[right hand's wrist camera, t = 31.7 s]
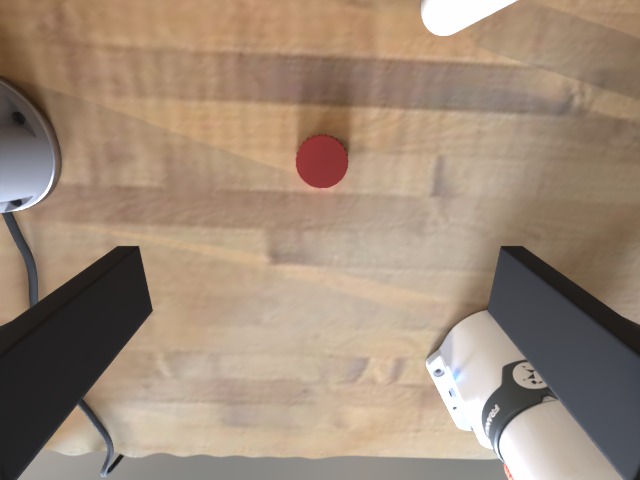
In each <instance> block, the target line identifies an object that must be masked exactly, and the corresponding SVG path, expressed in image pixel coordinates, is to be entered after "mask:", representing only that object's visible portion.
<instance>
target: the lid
mask: <svg viewBox="0 0 640 480" xmlns="http://www.w3.org/2000/svg"><path fill="white" fill-rule="evenodd" d="M345 150H346V149H345V148H344V147H343V146H342V143H340V142H339V141H338V139H335V138H333V137H332V136H328V135H326V134H325V135H320V134H319V135H316V136H314V135H313V137H310V138H308V139H307V140H306V141H305V142H303V144H302V145H301V147H299V151H298V152H297V157H296V167H297V172H298V173H299V175H300V177H301V178H302V180H303V181H304V182H306V183H307V184H308V185H310V186H312V187H315V188H329V187H332V186H334V185H335V184H337V183H338V182H339V181H340V180H341V179H342V178H343V177H344V175H345V173H346V170H347V168H348V167H347V166H348V158H347V156H348V155H347V154H346V151H345Z"/></svg>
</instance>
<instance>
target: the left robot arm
mask: <svg viewBox="0 0 640 480" xmlns="http://www.w3.org/2000/svg"><path fill="white" fill-rule="evenodd" d="M426 366H427V368H428V370H429V372H430V374H431V376H432V378H433V380H434V382H435V384H436V386H437V388H438V390H439V392H440V394H441V396H442V398H443V400H444V402H445V404H446V406H447V408H448V410H449V412H450V414H451V416H452V418H453V420H454V422H455V423H456V425H457V427H458V428H460V429H463V430H468V431H475V433H476V436H477V438H478V440H479V442H480V444H481V445H483V446H485V447H487V448H490V449H493V451H494V452H495V453H496V454H497V455H498V457H499V458H500V459H501V460H502V461H503V462H504V463H505V464H504V468H505V472H506V474H507V477H508V479H509V480H623V479H622V478H621V476H620V475H619V474H618V473H617V471H616V470H615V469H614V468H613V466H612V465H611V464H610V463H609V462H608V460H607V459H606V458H605V457H604V455H603V454H602V453H601V452H600V450H599V449H598V448H597V447H596V445H595V444H594V443H593V442H592V440H591V439H590V438H589V437H588V435H587V434H586V433H585V432H584V430H583V429H582V428H581V427H580V426H579V424H578V423H577V422H576V421H575V419H574V418H573V417H572V416H571V414H570V413H569V412H568V411H567V409H566V408H565V407H564V406H563V404H562V403H561V402H560V401H559V399H558V398H557V397H556V396H555V394H554V393H553V392H552V391H551V389H550V388H549V387H548V386H547V385H546V383H545V382H544V381H543V380H542V378H541V377H540V376H539V375H538V373H537V372H536V371H535V370H534V368H533V367H532V366H531V365H530V363H529V362H528V361H527V360H526V358H525V357H524V356H523V355H522V353H521V352H520V351H519V350H518V348H517V347H516V346H515V345H514V344H513V342H512V341H511V340H510V339H509V337H508V336H507V335H506V334H505V332H504V331H503V330H502V329H501V327H500V326H499V325H498V324H497V322H496V321H495V320H494V319H493V317H492V316H491V315H490V314H489V312H488V311H487V310H484V311H480V312H478V313H475V314H473V315H471V316H469V317H467V318H465V319H464V320H462V321H461V322H459V323H458V324H457V325H456V326H455V327H454V328H453V329H452V330H451V331H450V332H449V334H448V335H447V336H446V338H445V340H444V342H443V344H442V345H441V347H440V348H439V349H438V350H437V351H435V352H434V353H433V354H432V355H431V356H429V358H428V359H427V360H426ZM437 369H439V370H437Z"/></svg>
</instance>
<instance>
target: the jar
mask: <svg viewBox="0 0 640 480" xmlns="http://www.w3.org/2000/svg"><path fill="white" fill-rule="evenodd" d="M515 1H517V0H422V2H421V15H422V19H423V22H424V24H425V26H426V27H427V28H428V29H429V30H430V31H431V32H433V33H434V34H437V35H441V36H447V35H451V34H454V33H456V32H458V31H459V30H461V29H463V28H465V27H467V26H469V25H471V24H473V23H475V22H477V21H479V20H481V19H482V18H484V17H486V16H488V15H490V14H492V13H494V12H496V11H498V10H500V9H502V8H504V7H506V6H507V5H509V4H511V3H513V2H515Z"/></svg>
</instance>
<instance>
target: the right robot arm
mask: <svg viewBox="0 0 640 480" xmlns="http://www.w3.org/2000/svg"><path fill="white" fill-rule="evenodd" d="M60 173H61V152H60V147H59V143H58V140H57V137H56V134H55V132H54V130H53V128H52V126H51V124H50V122H49V120H48V119H47V117H46V116H45V114H44V113H43V112H42V110H41V109H40V108H39V107H38V105H37V104H36V103H35V102H34V101H33V100H32V99H31V98H30V97H29V96H28V95H27V94H25V93H24V92H23V91H22V90H21V89H19V88H18V87H16V86H15V85H13V84H12V83H10V82H9V81H7V80H5V79H3V78H1V77H0V213H2V215H3V217H4V219H5V222H6V224H7V226H8V228H9V230H10V232H11V234H12V236H13V239H14V241H15V242H16V244H17V246H18V248H19V250H20V252H21V253H22V255H23V258H24V260H25V263H26V267H27V272H28V279H29V300H30V309H28V310H27V311H25V312H24V313H23V314H21V315H20V316H18V317H17V318H15V319H14V320H13V321H11V322H9V323H7V324H5V325H2V326H0V480H17V479H18V478H19V476H20V475H21V474H22V473H23V471H24V470H25V469H26V468H27V466H28V465H29V464H30V463H31V462H32V460H33V459H34V458H35V457H36V455H37V454H38V453H39V452H40V450H41V449H42V448H43V447H44V445H45V444H46V443H47V442H48V440H49V439H50V438H51V437H52V435H53V434H54V433H55V432H56V430H57V429H58V428H59V427H60V425H61V424H62V423H63V422H64V421H65V419H66V418H67V417H68V416H69V414H70V413H71V412H72V411H73V409H74V408H75V407H76V406H77V405H78V406H79V407H80V409H81V410H82V411H83V412H84V413H85V415H86V416H87V417H88V419H89V420H90V421H91V423H92V424H93V425H94V427H95V428H96V429H97V431H98V432H99V433H100V435H101V436H102V438H103V440H104V441H105V444H106V447H107V457H106V460H105V463H104V465H103V468H102V470H101V477H106V476H108V475H109V474H110V473H111V472H112V471H113V470H114V469H115V468H116V466H117V465H118V464H119V463H120V461H121V460H122V459H123V457H124V456H125V455H122V454H119V456H118V457H117V458H116V460H115V461H114V462H113V464H112V465H111V466H110V463H111V461H112V457H113V452H114V448H113V443H112V440H111V437H110V435H109V434H108V432H107V430H106V429H105V428H104V426H103V425H102V424H101V422H100V421H99V420H98V418H97V417H96V415H95V414H94V413H93V411H92V410H91V409H90V407H89V406H88V405H87V404H86V403H85V402H84V400H83V399H82V398H83V397H84V396H85V394H86V393H87V392H88V391H89V389H90V388H91V387H92V386H93V385H94V383H95V382H96V381H97V380H98V378H99V377H100V376H101V375H102V373H103V372H104V371H105V370H106V368H107V367H108V366H109V365H110V363H111V362H112V361H113V360H114V358H115V357H116V356H117V355H118V353H119V352H120V351H121V350H122V348H123V347H124V346H125V345H126V344H127V342H128V341H129V340H130V339H131V337H132V336H133V335H134V334H135V332H136V331H137V330H138V329H139V327H140V326H141V325H142V324H143V322H144V321H145V320H146V319H147V317H148V316H149V315H150V314H151V312H152V311H153V310H152V305H151V300H150V296H149V291H148V286H147V282H146V277H145V272H144V268H143V263H142V258H141V254H140V249H139V246H117V247H116V248H114V249H113V250H112V251H110V252H109V253H107V254H106V255H105V256H103V257H102V258H100V259H99V260H97V261H96V262H95V263H93V264H92V265H90V266H89V267H88V268H86V269H85V270H83V271H82V272H80V273H79V274H78V275H76V276H75V277H73V278H72V279H71V280H69V281H68V282H66V283H65V284H64V285H62V286H61V287H59V288H58V289H56V290H55V291H54V292H52V293H51V294H49V295H48V296H47V297H45V298H44V299H42V300H41V301H39V302H38V281H37V271H36V266H35V262H34V258H33V256H32V253H31V251H30V249H29V247H28V245H27V243H26V242H25V240H24V238H23V236H22V234H21V231H20V229H19V227H18V225H17V222H16V220H15V218H14V216H13V214H12V211H17V210H21V209H24V208H27V207H30V206H33V205H35V204H37V203H39V202H41V201H43V200H44V199H45V198H47V197H48V196H49V195H50V194H51V192H52V191H53V190H54V188H55V186H56V185H57V182H58V180H59V177H60ZM487 311H488V312H489V314H490V315H491V316H492V317H493V319H494V320H495V321H496V322H497V324H498V325H499V326H500V327H501V329H502V330H503V331H504V332H505V334H506V335H507V336H508V337H509V339H510V340H511V341H512V342H513V344H514V345H515V346H516V347H517V348H518V350H519V351H520V352H521V353H522V355H523V356H524V357H525V358H526V360H527V361H528V362H529V363H530V365H531V366H532V367H533V368H534V370H535V371H536V372H537V373H538V375H539V376H540V377H541V378H542V380H543V381H544V382H545V383H546V385H547V386H548V387H549V388H550V389H551V391H552V392H553V393H554V394H555V396H556V397H557V398H558V399H559V401H560V402H561V403H562V404H563V406H564V407H565V408H566V409H567V411H568V412H569V413H570V414H571V416H572V417H573V418H574V419H575V421H576V422H577V423H578V424H579V426H580V427H581V428H582V429H583V430H584V432H585V433H586V434H587V435H588V437H589V438H590V439H591V440H592V442H593V443H594V444H595V445H596V447H597V448H598V449H599V450H600V452H601V453H602V454H603V455H604V457H605V458H606V459H607V460H608V462H609V463H610V464H611V465H612V466H613V468H614V469H615V470H616V471H617V473H618V474H619V475H620V476H621V478H622V479H623V480H640V325H639V324H637V323H634V322H632V321H630V320H628V319H626V318H624V317H622V316H620V315H619V314H617V313H616V312H615V311H613V310H612V309H610V308H609V307H608V306H606V305H605V304H603V303H602V302H601V301H599V300H598V299H596V298H595V297H593V296H592V295H591V294H589V293H588V292H586V291H585V290H584V289H582V288H581V287H579V286H578V285H576V284H575V283H574V282H572V281H571V280H569V279H568V278H567V277H565V276H564V275H562V274H561V273H560V272H558V271H557V270H555V269H554V268H552V267H551V266H550V265H548V264H547V263H545V262H544V261H543V260H541V259H540V258H538V257H537V256H535V255H534V254H533V253H531V252H530V251H528V250H527V249H526V248H524V247H523V246H501V249H500V254H499V258H498V263H497V268H496V272H495V277H494V282H493V286H492V291H491V296H490V300H489V305H488V310H487ZM109 466H110V467H109Z"/></svg>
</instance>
